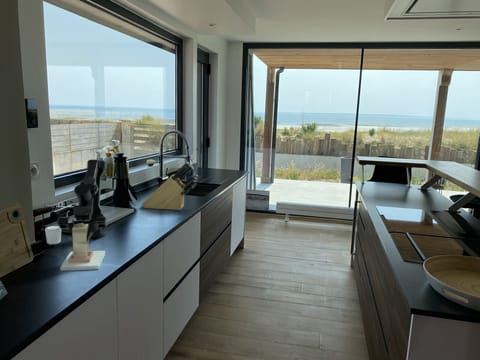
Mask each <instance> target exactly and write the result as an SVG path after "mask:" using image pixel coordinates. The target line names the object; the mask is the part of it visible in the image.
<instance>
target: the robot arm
mask: <svg viewBox="0 0 480 360" xmlns="http://www.w3.org/2000/svg"><path fill="white" fill-rule="evenodd" d="M86 163H87V164H86V169H87V170H86V173H85V177H84V178H82V179H81V180H80V183H79V184H78V185H77V184H76V186H74V189H73V191H74V194H75V197H76V199H77V201H78V204H77V206H74V207H73V215H74V219H71V218H70V216H59V217H58V218H57V220H56V224H57V226H59V228H61V230H62V229H63V230H64V229H67V230H68V231H70V236H71V241H72V242H73V233H72V228H73V227H74V226H75V224H78V223H83V224H88V234H87V241H88V240H89V241H90V240H91V239H93V240H99V239H100V238H103V237H105V236H106V234H103V229H106V228H108V221H107V217H106V216H105V214H104V212H103V209H102V208H101V205H100V204H101V191H102V190H101V189H102V188H101V186H102V185H101V184H102V178H103V176H105V174H106V170H107V167H108V166H107V162H106V161H104V159H103V160H102V159H96V158H95V159H88V160H87V162H86Z"/></svg>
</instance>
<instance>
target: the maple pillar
mask: <svg viewBox="0 0 480 360" xmlns="http://www.w3.org/2000/svg"><path fill="white" fill-rule="evenodd" d="M72 233H73V241H72V252H73V258H87V257H88V255H89V251H90V243H89V242H90V239H89V240H88V241H87V234H88V224H83V223H78V224H75V226H74V227H73V228H72Z"/></svg>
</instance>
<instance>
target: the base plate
mask: <svg viewBox="0 0 480 360" xmlns="http://www.w3.org/2000/svg"><path fill="white" fill-rule="evenodd" d="M105 255H106V250H89V255H88V257H87V258H73V251H70V252H69V254H68V255H67V257H66V258H65V260H64V261H63V262H62V264H61V265H60V271H61V272H64V271H88V270H90V271H91V270H99V269H100V266H101V264H102V262H103V260H104V257H105Z"/></svg>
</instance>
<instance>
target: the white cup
mask: <svg viewBox="0 0 480 360" xmlns="http://www.w3.org/2000/svg"><path fill="white" fill-rule="evenodd" d="M44 231H45V237H46V244H48V245H57V244H60V243H61V241H62V239H61V238H62V229H61V228H59V226H58V225H52V226H47V227H45V228H44Z"/></svg>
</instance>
